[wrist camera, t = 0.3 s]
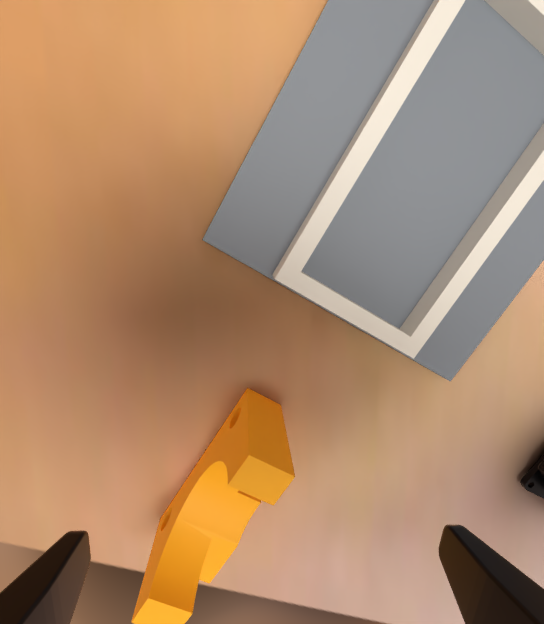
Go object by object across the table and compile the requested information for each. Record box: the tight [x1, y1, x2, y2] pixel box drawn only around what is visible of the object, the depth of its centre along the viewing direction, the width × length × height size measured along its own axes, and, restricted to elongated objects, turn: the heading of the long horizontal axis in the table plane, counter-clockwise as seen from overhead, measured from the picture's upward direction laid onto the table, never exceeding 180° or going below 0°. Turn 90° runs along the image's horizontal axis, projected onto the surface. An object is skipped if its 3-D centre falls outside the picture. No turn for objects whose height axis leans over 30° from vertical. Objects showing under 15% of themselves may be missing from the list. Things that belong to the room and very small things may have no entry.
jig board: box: [202, 0, 544, 381], centre depth 17 cm, size 18×18×2 cm
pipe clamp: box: [132, 388, 295, 624], centre depth 20 cm, size 12×4×6 cm, turn 148°
